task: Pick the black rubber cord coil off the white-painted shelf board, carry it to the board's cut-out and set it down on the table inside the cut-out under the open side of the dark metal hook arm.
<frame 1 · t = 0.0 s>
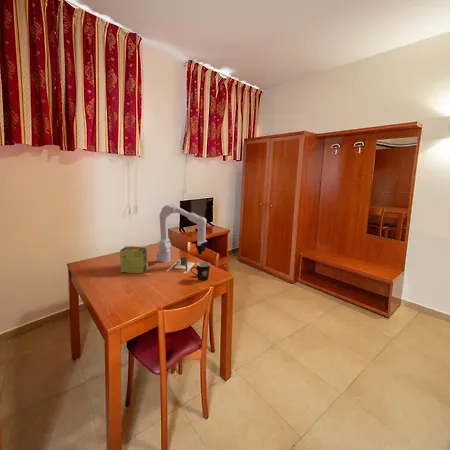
hand: (201, 252, 184), 10 cm above the table, fingers open, 7 cm apart
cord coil: (183, 264, 184), point 1 cm above the table, touching shelf board
hook arm: (184, 267, 171), on the shelf board, point 4 cm above the table
shelf board: (181, 268, 179), on the table
protein box: (134, 270, 175), on the table
coffee mug: (200, 279, 164), on the table
cord run: (176, 263, 183), on the shelf board, point 2 cm above the table
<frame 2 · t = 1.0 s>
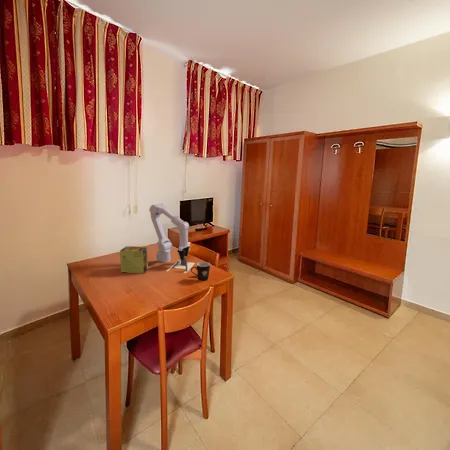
hand: (184, 257, 183), 7 cm above the table, fingers open, 7 cm apart
nothing on the table moved.
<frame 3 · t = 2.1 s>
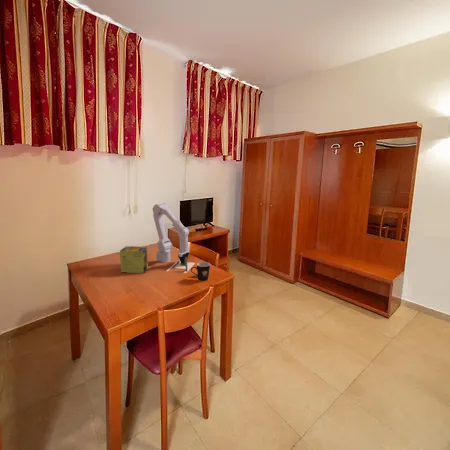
hand: (183, 263, 184), 2 cm above the table, fingers closed on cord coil, 5 cm apart
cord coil: (183, 264, 184), point 1 cm above the table, touching gripper, shelf board
everything else where it was.
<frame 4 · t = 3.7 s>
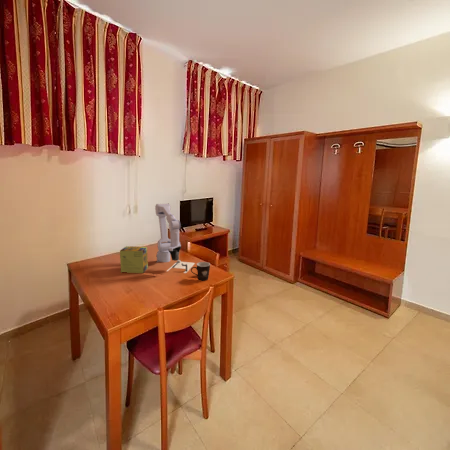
hand: (175, 258, 171), 10 cm above the table, fingers closed on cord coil, 5 cm apart
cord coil: (175, 259, 172), point 9 cm above the table, touching gripper
everything else where it was.
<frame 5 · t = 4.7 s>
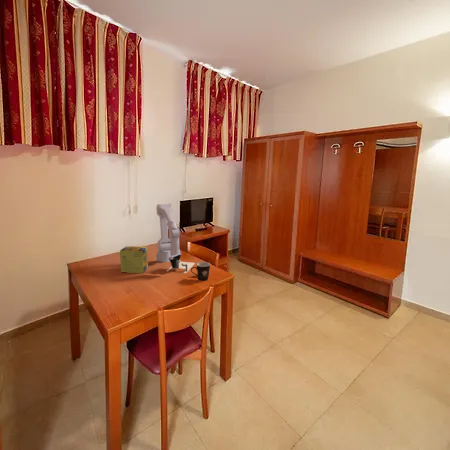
hand: (175, 266, 173), 4 cm above the table, fingers closed on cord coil, 5 cm apart
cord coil: (175, 267, 173), point 3 cm above the table, touching gripper
everything else where it was.
when the fingers open (3 cm above the table, at t = 5.5 s): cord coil drops 2 cm, on the table.
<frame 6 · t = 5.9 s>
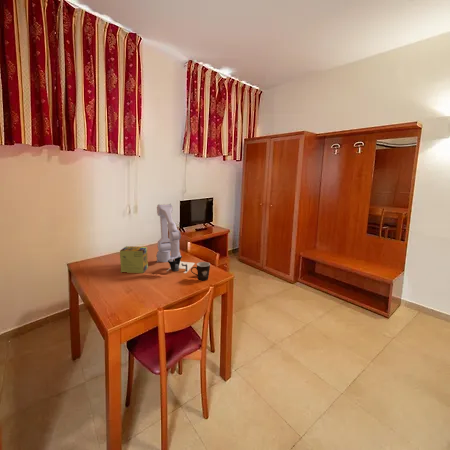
hand: (175, 268, 173), 3 cm above the table, fingers open, 7 cm apart
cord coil: (175, 272, 173), on the table
everything else where it was.
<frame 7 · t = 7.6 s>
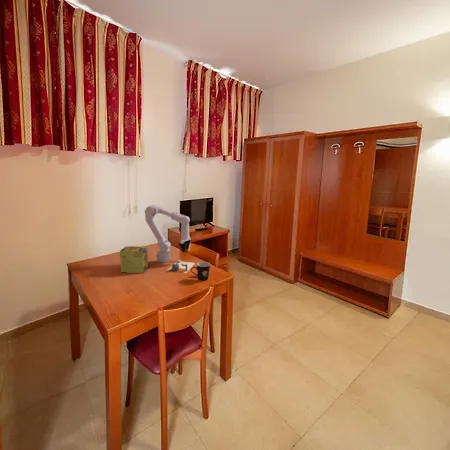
hand: (185, 250, 188), 10 cm above the table, fingers open, 7 cm apart
nothing on the table moved.
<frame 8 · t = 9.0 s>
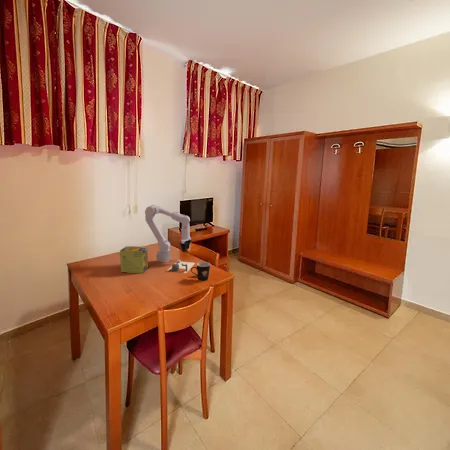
hand: (185, 250, 189), 10 cm above the table, fingers open, 7 cm apart
nothing on the table moved.
at the end: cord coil 0.1 cm from the target spot on the shelf board, point 0.0 cm above the shelf board's base; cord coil tilted 1°; the gripper is holding nothing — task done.
